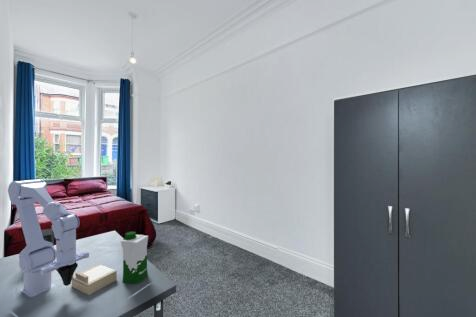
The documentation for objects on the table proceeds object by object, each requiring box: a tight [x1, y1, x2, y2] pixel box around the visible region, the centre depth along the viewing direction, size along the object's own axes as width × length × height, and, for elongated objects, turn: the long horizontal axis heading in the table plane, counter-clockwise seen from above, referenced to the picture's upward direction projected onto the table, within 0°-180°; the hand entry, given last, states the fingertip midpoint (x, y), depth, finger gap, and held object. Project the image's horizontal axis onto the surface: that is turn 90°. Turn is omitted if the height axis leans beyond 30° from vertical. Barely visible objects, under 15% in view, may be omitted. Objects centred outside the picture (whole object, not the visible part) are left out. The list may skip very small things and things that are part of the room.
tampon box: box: [30, 228, 55, 254], centre depth 108 cm, size 11×9×15 cm
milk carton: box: [120, 231, 149, 285], centre depth 92 cm, size 9×9×20 cm
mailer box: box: [71, 263, 118, 296], centre depth 89 cm, size 12×11×5 cm
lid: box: [73, 264, 116, 285], centre depth 89 cm, size 10×11×3 cm
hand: (67, 284), depth 80 cm, fingers closed
